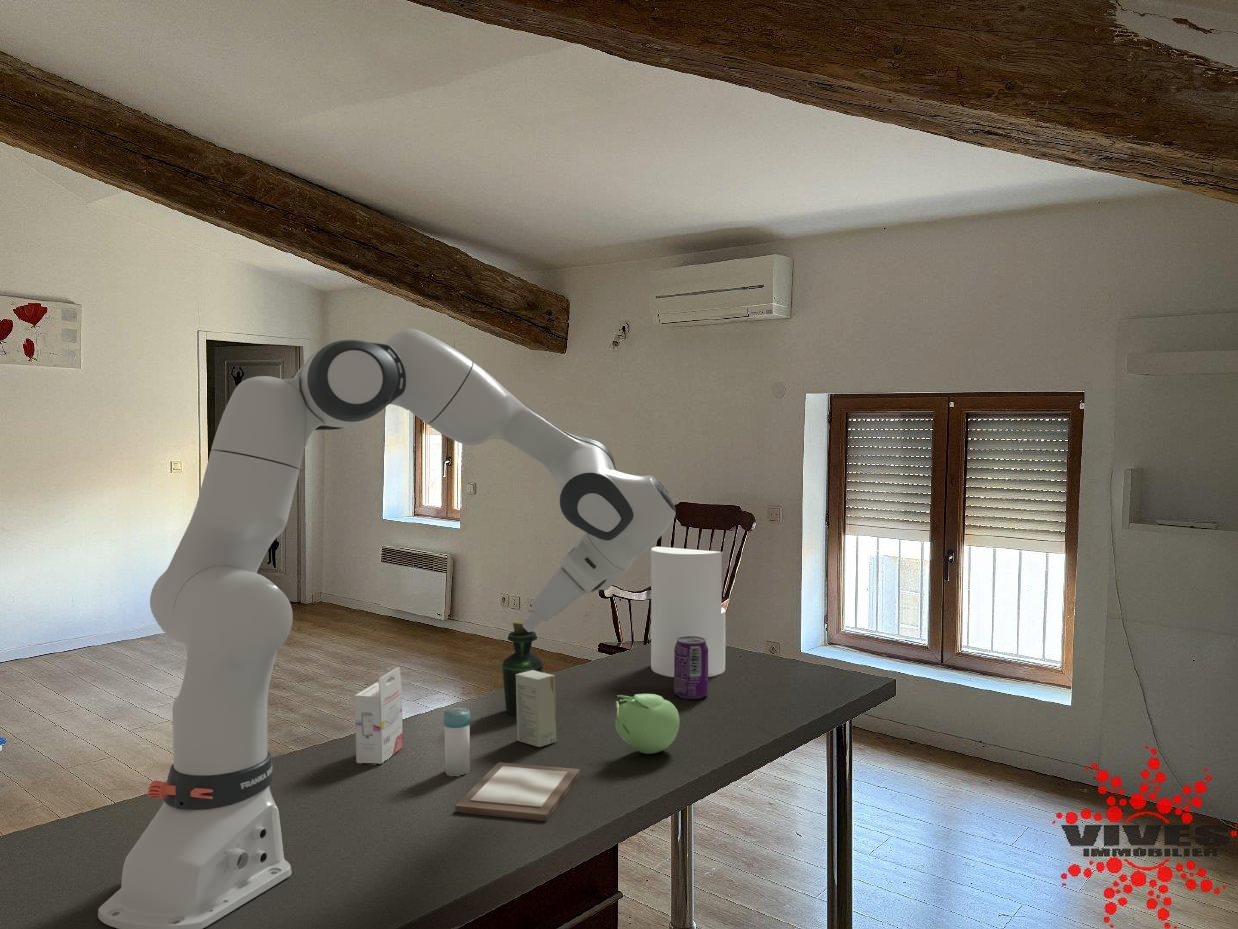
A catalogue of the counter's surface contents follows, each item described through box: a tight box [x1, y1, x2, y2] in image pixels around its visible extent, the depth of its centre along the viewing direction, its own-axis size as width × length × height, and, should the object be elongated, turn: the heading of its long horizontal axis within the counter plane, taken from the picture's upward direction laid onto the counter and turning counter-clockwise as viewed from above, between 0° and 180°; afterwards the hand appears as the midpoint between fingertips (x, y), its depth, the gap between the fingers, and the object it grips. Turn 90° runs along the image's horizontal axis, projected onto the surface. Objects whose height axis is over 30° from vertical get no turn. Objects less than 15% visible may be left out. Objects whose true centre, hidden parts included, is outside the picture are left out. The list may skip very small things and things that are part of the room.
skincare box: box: [516, 670, 557, 748], centre depth 167 cm, size 6×4×12 cm
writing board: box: [454, 761, 581, 822], centre depth 143 cm, size 18×14×1 cm
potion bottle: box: [501, 619, 544, 717], centre depth 184 cm, size 8×8×18 cm
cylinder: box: [650, 546, 726, 678], centre depth 217 cm, size 17×17×28 cm
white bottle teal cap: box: [443, 707, 471, 775], centre depth 152 cm, size 4×4×10 cm
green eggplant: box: [614, 693, 681, 755], centre depth 160 cm, size 12×11×11 cm
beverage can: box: [673, 636, 709, 700], centre depth 195 cm, size 7×7×12 cm
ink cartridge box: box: [353, 666, 404, 764], centre depth 159 cm, size 9×5×15 cm, turn 168°
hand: (536, 621), depth 148 cm, fingers open, 8 cm apart
